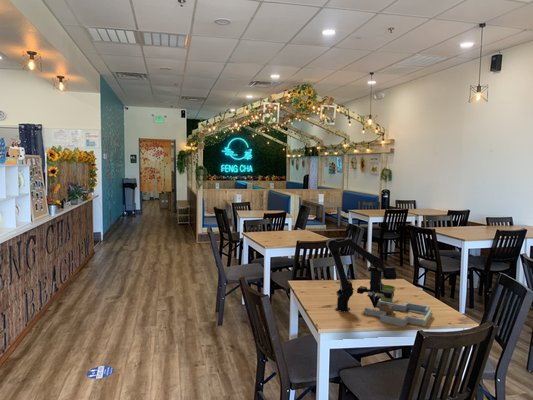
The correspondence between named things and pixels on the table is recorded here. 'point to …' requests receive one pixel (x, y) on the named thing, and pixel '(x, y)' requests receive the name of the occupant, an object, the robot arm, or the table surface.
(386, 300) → the plant pot
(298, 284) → the table surface
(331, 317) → the table surface
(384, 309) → the block
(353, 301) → the table surface
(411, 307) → the grey zigzag track
